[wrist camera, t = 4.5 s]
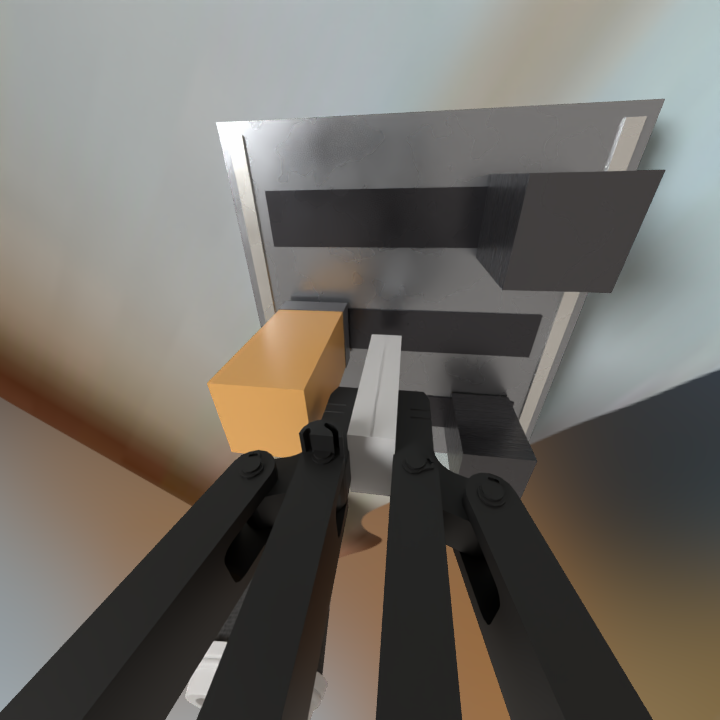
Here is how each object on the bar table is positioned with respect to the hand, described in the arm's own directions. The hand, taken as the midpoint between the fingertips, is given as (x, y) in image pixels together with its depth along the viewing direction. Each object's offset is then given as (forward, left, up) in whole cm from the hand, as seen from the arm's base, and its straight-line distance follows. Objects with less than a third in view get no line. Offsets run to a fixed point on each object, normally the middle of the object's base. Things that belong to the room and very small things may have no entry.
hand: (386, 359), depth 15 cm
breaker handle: (+2, -3, -3) cm, 5 cm away
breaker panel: (0, +1, -5) cm, 5 cm away
